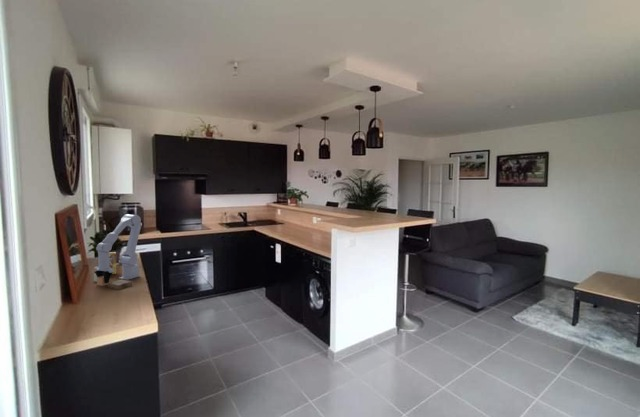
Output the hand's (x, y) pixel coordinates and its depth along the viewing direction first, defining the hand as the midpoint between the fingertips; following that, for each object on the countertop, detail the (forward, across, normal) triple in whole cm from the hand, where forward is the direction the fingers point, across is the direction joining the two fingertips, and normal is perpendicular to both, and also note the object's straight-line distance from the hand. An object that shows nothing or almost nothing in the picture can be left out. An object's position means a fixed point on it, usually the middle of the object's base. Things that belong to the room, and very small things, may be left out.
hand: (103, 282), depth 193 cm
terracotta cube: (+1, 0, 0) cm, 1 cm away
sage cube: (+2, -9, +4) cm, 10 cm away
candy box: (+2, -20, +17) cm, 26 cm away
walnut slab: (+2, +12, +2) cm, 12 cm away
